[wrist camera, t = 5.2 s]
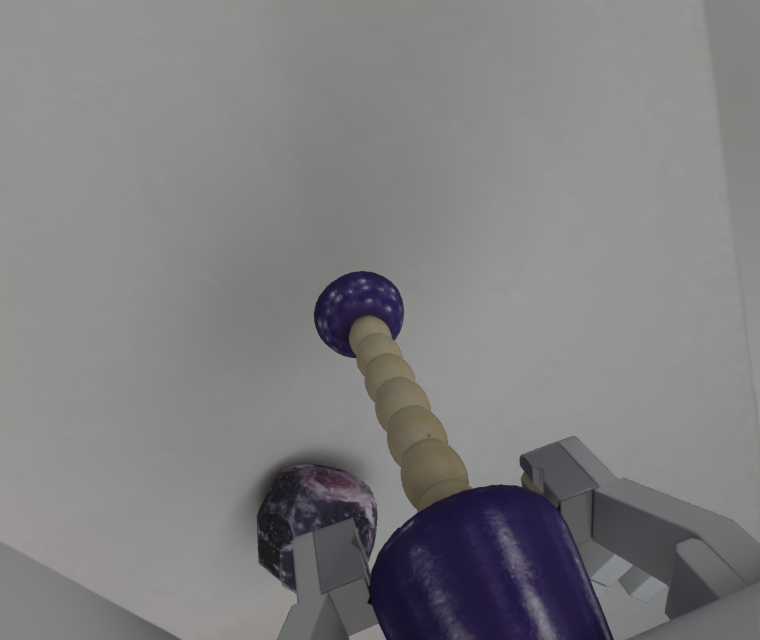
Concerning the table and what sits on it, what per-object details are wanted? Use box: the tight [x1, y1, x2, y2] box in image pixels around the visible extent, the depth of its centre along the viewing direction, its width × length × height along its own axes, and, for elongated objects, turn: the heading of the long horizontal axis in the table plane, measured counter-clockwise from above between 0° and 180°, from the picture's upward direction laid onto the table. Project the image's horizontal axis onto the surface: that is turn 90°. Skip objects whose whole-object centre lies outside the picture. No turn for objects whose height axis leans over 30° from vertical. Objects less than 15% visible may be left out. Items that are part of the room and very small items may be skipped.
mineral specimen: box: [257, 464, 377, 594], centre depth 38 cm, size 10×10×10 cm
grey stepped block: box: [576, 539, 667, 603], centre depth 53 cm, size 12×12×8 cm
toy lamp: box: [314, 271, 614, 640], centre depth 14 cm, size 5×5×17 cm
